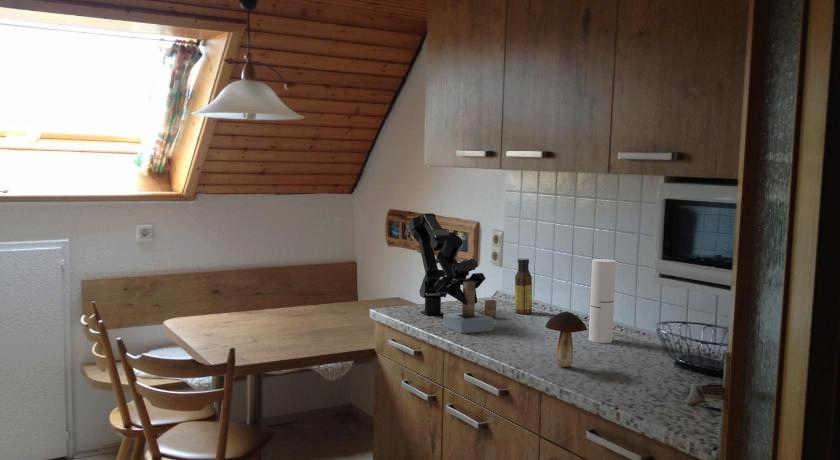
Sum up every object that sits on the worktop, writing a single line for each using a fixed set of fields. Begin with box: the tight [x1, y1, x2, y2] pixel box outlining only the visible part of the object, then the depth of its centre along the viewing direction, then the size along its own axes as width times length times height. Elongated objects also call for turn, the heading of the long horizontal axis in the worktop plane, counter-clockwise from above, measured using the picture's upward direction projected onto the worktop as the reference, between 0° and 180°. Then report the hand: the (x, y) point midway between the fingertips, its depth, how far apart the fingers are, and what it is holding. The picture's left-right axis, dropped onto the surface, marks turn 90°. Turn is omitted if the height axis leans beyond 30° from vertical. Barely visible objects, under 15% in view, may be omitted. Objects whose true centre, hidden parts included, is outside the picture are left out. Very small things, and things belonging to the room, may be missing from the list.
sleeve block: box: [442, 311, 495, 334], centre depth 249 cm, size 12×12×4 cm
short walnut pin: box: [483, 299, 497, 319], centre depth 267 cm, size 4×4×6 cm
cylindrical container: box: [588, 258, 617, 344], centre depth 235 cm, size 7×7×25 cm
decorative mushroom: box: [545, 311, 588, 368], centre depth 203 cm, size 11×11×15 cm
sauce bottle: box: [514, 257, 533, 315], centre depth 276 cm, size 7×6×20 cm
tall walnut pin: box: [461, 281, 476, 319], centre depth 248 cm, size 4×4×14 cm
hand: (471, 303), depth 247 cm, fingers closed on tall walnut pin, 4 cm apart
